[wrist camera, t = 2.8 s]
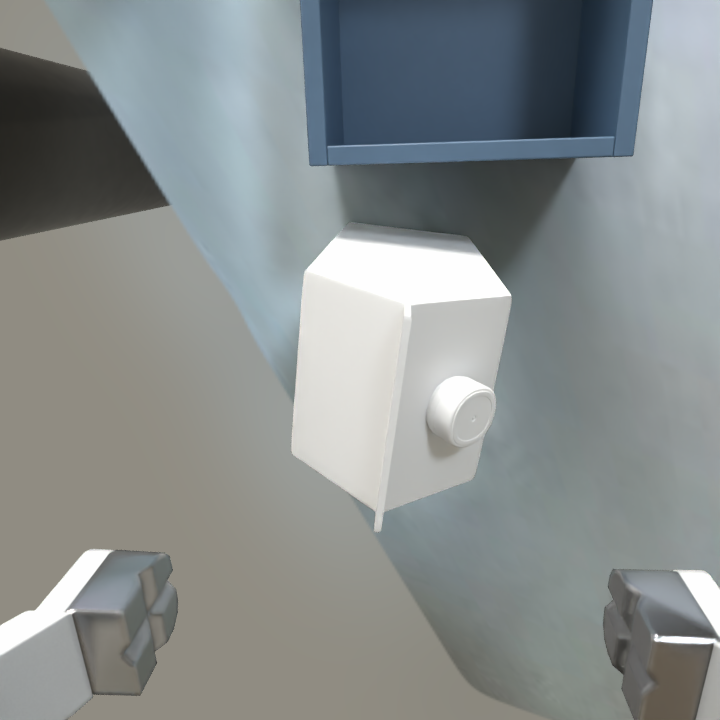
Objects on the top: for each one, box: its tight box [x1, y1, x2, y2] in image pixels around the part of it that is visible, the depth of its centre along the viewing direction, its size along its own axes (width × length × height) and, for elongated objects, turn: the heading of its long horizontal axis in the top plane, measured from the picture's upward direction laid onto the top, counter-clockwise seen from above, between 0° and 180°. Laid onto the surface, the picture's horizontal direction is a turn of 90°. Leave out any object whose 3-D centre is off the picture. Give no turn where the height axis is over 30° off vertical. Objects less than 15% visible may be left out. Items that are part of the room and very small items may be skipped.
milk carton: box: [291, 222, 512, 533], centre depth 25 cm, size 7×7×19 cm
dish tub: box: [300, 0, 653, 166], centre depth 25 cm, size 14×14×8 cm
